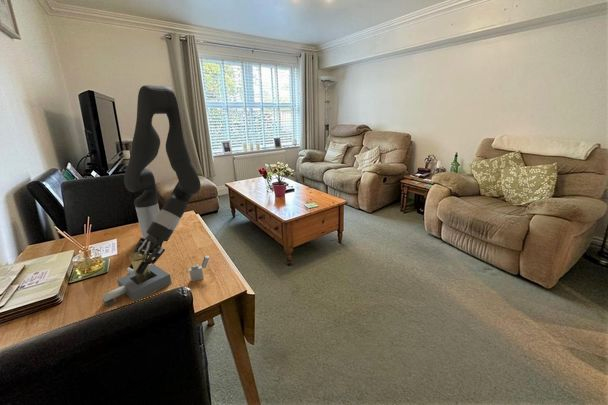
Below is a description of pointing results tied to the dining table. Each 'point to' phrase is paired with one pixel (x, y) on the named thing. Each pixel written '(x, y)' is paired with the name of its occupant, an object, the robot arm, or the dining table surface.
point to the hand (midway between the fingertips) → (135, 270)
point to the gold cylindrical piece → (136, 261)
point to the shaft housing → (138, 291)
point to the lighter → (198, 270)
